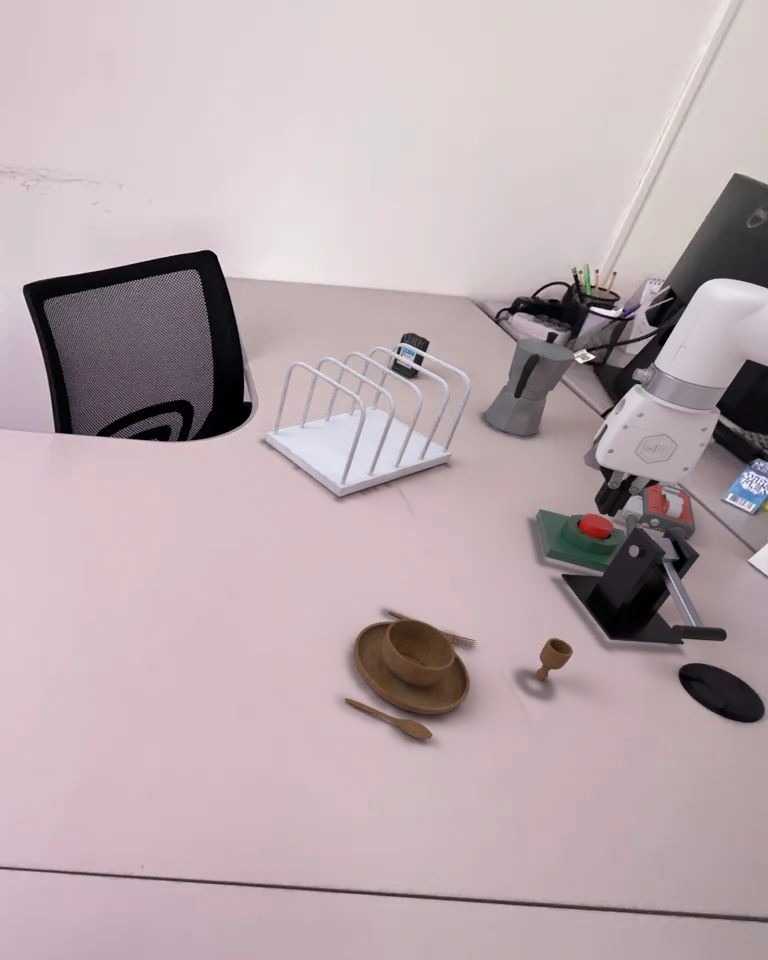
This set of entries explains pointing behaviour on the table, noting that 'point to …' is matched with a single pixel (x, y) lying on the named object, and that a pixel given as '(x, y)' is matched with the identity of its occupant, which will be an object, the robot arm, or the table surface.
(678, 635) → the lever
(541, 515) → the control box
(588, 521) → the button
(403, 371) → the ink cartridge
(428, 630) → the place setting
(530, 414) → the coffeepot
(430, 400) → the table surface
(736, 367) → the robot arm
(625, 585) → the bracket
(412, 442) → the file sorter
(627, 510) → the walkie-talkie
